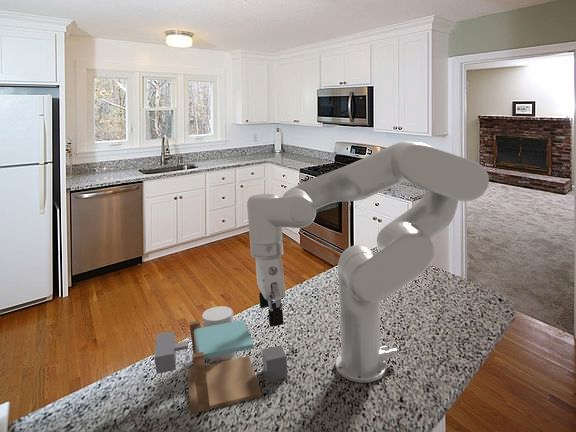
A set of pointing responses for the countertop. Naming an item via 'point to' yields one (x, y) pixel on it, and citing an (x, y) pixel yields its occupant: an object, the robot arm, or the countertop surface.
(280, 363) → the grey block
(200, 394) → the frame
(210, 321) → the cup
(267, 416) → the countertop surface
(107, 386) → the countertop surface
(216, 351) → the trapdoor
